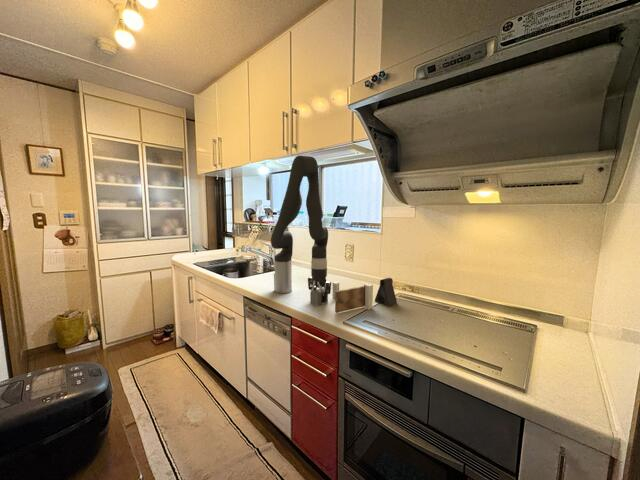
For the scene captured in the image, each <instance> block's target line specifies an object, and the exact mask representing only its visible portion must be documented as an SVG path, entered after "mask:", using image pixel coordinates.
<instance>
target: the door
mask: <svg viewBox="0 0 640 480" xmlns="http://www.w3.org/2000/svg"><path fill="white" fill-rule="evenodd" d="M366 285H367V284H363V285H362V286H361V285H360V286H356V287H350V288H345V289H341V290H340V289H339V291H335V298H334V300H335V303H334V312H335V313H336V314H337V313H343V312H346V311H351V310H354V309H355V310H357V309H359V308H362V307H363V308H365V286H366Z"/></svg>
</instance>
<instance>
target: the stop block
mask: <svg viewBox="0 0 640 480" xmlns="http://www.w3.org/2000/svg"><path fill="white" fill-rule="evenodd" d="M309 291H310V293H309V294H310V297H309V298H310V300H309V301H310V304H311V305H314V306H316V307H319V306H321V305H324V304H328V302H329V294H328V295H327V301H326V302H325V303H322V292H321V291H320V288H317V289H316V290H314V291H311V290H309ZM324 292H325V291H324Z"/></svg>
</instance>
